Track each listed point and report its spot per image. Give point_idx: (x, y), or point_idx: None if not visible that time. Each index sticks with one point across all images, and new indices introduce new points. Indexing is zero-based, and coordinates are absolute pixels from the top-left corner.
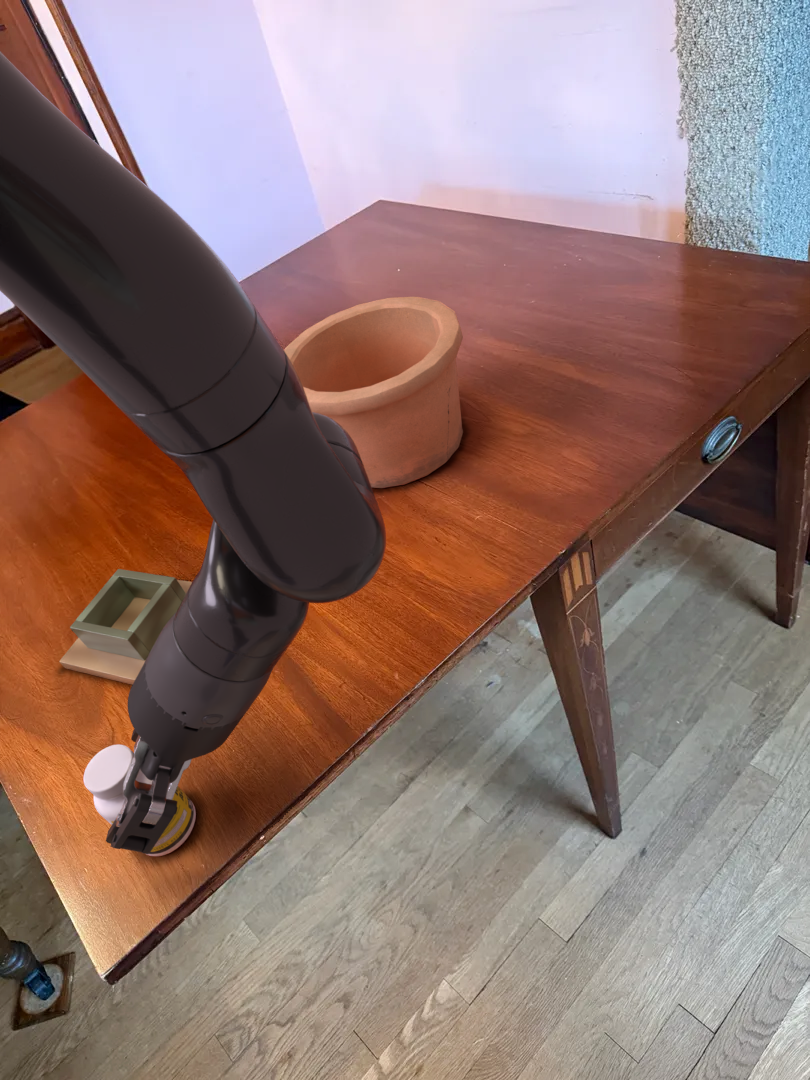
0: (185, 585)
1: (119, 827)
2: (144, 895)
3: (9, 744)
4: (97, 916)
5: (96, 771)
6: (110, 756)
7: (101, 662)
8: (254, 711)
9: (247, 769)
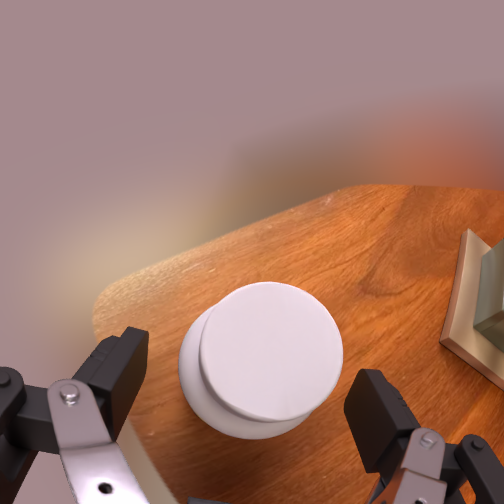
0: None
1: (11, 400)
2: None
3: (391, 185)
4: (142, 286)
5: (273, 316)
6: (309, 353)
7: (470, 272)
8: None
9: (285, 499)
